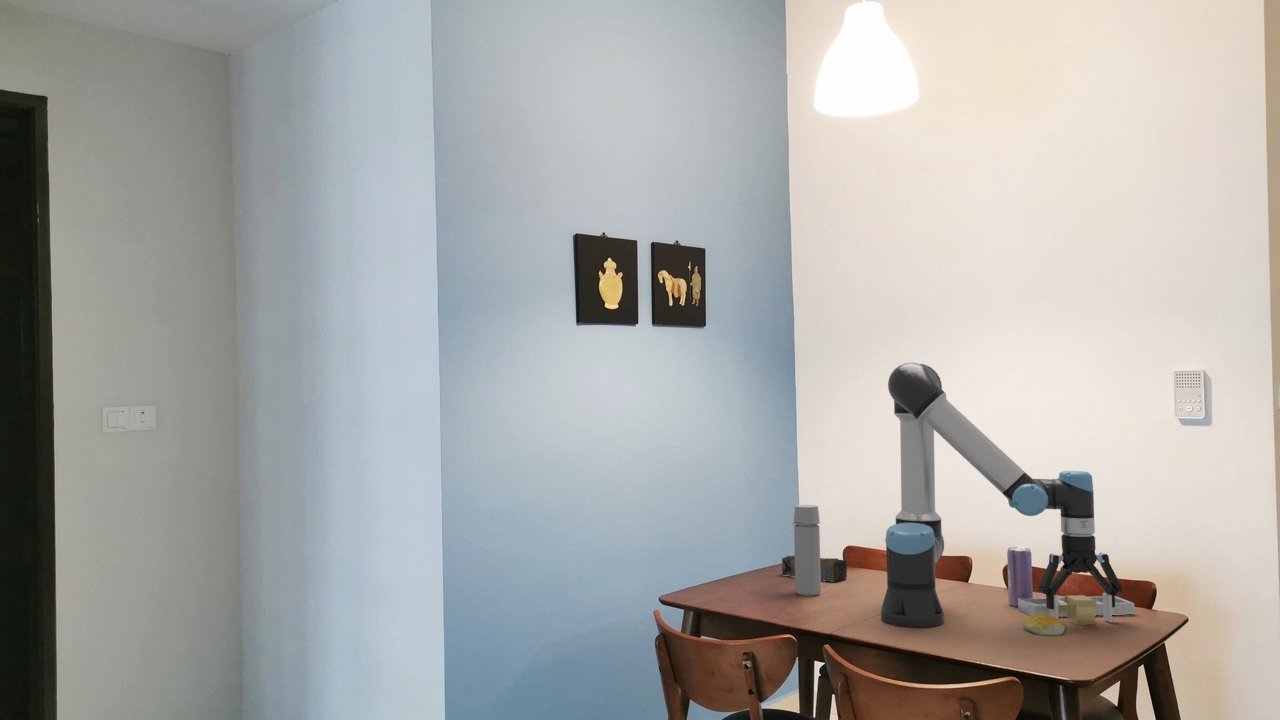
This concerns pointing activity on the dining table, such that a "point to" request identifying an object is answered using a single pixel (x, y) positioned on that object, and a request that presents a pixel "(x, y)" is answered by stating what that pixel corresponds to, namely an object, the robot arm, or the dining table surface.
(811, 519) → the water bottle
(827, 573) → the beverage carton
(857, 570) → the dining table surface
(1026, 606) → the grey compartment tray
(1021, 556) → the beverage can
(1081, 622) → the pale yellow block
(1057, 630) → the bread roll
